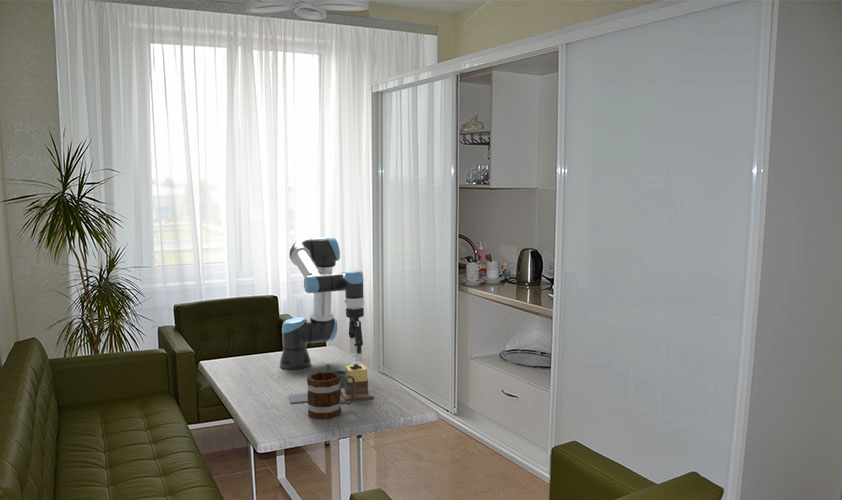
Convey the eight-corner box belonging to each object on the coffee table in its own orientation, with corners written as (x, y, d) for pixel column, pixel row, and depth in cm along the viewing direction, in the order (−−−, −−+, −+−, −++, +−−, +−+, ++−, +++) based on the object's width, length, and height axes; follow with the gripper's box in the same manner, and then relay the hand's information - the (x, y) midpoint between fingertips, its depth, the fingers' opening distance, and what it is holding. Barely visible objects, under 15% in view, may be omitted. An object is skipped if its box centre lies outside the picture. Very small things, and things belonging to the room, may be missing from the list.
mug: (312, 421, 252) (311, 383, 250) (303, 410, 264) (302, 374, 262) (361, 414, 259) (360, 376, 258) (350, 403, 272) (350, 367, 270)
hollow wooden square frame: (345, 377, 284) (345, 365, 284) (363, 375, 286) (363, 364, 286) (348, 382, 277) (348, 370, 276) (367, 380, 279) (367, 369, 278)
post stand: (340, 391, 287) (339, 361, 286) (367, 388, 291) (366, 359, 289) (345, 401, 274) (344, 370, 273) (373, 398, 277) (373, 368, 276)
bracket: (351, 384, 296) (351, 365, 296) (332, 388, 292) (331, 368, 291) (343, 379, 304) (342, 360, 303) (324, 383, 300) (324, 363, 299)
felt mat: (288, 396, 281) (288, 394, 281) (312, 393, 284) (312, 392, 284) (290, 403, 272) (290, 402, 272) (315, 401, 275) (315, 400, 275)
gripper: (341, 303, 289) (342, 350, 291) (350, 313, 265) (352, 365, 267) (358, 301, 291) (359, 349, 293) (369, 312, 267) (370, 363, 269)
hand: (356, 356), depth 280 cm, fingers open, 13 cm apart
